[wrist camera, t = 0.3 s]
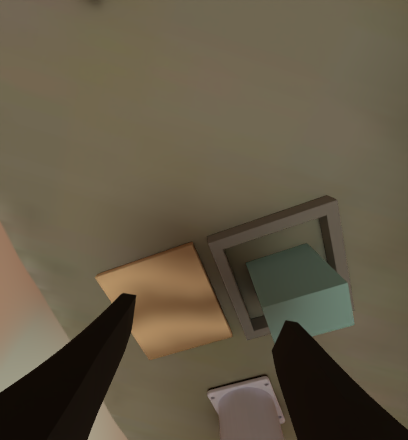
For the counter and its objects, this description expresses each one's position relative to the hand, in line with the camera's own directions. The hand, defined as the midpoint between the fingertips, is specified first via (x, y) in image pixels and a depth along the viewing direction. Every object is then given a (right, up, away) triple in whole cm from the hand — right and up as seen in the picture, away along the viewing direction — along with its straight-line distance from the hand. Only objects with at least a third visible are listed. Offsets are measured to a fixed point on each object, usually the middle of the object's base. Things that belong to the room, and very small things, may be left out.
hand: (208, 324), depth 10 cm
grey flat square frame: (+7, 0, +11) cm, 13 cm away
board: (-4, -4, +12) cm, 13 cm away
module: (+7, 0, +11) cm, 13 cm away
